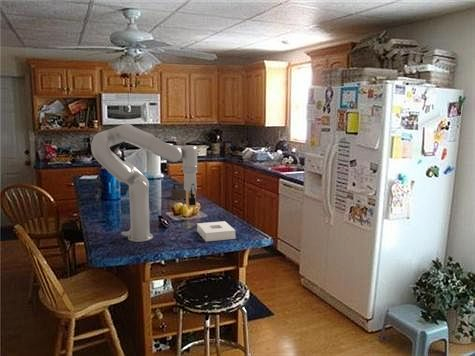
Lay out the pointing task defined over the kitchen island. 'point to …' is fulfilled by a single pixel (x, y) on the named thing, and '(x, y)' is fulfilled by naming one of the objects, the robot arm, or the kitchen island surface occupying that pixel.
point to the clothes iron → (178, 192)
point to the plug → (188, 201)
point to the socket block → (215, 231)
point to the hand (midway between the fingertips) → (191, 203)
